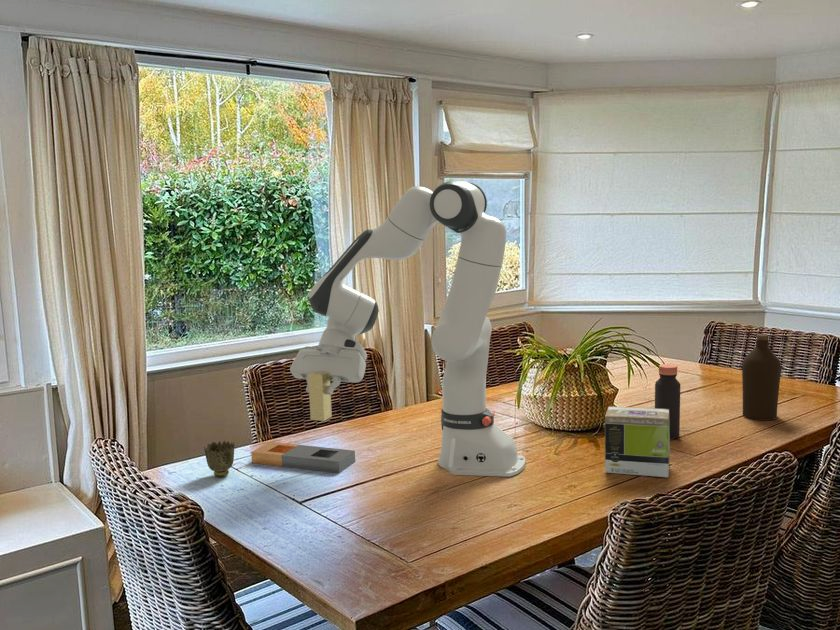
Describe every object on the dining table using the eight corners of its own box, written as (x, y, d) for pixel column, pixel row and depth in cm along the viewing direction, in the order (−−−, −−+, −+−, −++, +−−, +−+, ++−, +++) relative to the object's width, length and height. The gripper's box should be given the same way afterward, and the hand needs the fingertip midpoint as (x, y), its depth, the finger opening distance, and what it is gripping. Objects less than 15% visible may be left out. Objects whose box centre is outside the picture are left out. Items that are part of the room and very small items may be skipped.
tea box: (669, 465, 190) (670, 407, 188) (668, 479, 180) (669, 419, 178) (607, 460, 195) (608, 404, 192) (603, 473, 185) (604, 415, 183)
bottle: (667, 430, 218) (668, 362, 215) (684, 436, 212) (686, 366, 209) (648, 434, 215) (650, 365, 212) (666, 440, 209) (667, 369, 206)
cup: (228, 481, 187) (226, 450, 186) (200, 480, 189) (198, 449, 187) (241, 471, 194) (239, 441, 193) (214, 469, 196) (212, 440, 195)
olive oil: (755, 422, 222) (758, 338, 219) (733, 413, 233) (735, 333, 229) (786, 419, 225) (790, 336, 221) (763, 410, 235) (766, 330, 231)
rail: (355, 461, 199) (354, 450, 199) (339, 473, 191) (338, 461, 190) (270, 452, 209) (270, 441, 208) (251, 462, 200) (251, 452, 200)
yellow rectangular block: (331, 416, 197) (329, 371, 195) (324, 420, 193) (322, 375, 191) (318, 415, 198) (316, 370, 196) (310, 419, 195) (308, 374, 193)
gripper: (296, 339, 203) (278, 383, 196) (365, 343, 196) (349, 388, 188) (305, 352, 208) (288, 396, 200) (373, 356, 200) (358, 401, 193)
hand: (318, 392), depth 194 cm, fingers closed on yellow rectangular block, 4 cm apart
